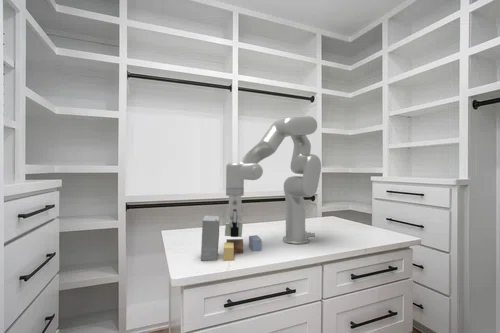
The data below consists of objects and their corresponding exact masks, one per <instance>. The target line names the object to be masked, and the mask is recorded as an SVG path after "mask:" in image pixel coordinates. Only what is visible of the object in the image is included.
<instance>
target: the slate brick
mask: <svg viewBox="0 0 500 333" xmlns="http://www.w3.org/2000/svg"><path fill="white" fill-rule="evenodd" d="M262 241H263V240H262V238H260V236H258V235H257V234H256V235H248V247H249V249H250V250H251V251H252V252H261V251H262V250H263V249H262V246H263V245H262Z"/></svg>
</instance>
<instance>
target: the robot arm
mask: <svg viewBox="0 0 500 333" xmlns="http://www.w3.org/2000/svg"><path fill="white" fill-rule="evenodd" d="M317 128H318V122H317V119H315V117H313V116H310V115H306V116H303V115H302V116H289V117H284V118H281V119H280V118H279V119H277V120H275V121H274V122H273V123H272V124H271V125H270V126H269V129H267V130H266V132H265V134H264V135H263V136H262V138H261V139H260V141H258V143H256V144H255V145H254V146H253V147H252V148H251V149H250V150H249V151H248V152H247V153H246V154H245V155H244V156H243V157H242V159H241V160H239V161H240V162H229V163H227V164H226V166H225V167H226V169H225V196H226V197H228V213H229V214H228V216H229V220H230V221H231V236H230V237H231V238H239V237H238V230H239V227H238V223H239V221H241V220H242V207H243V206H242V204H243V203H242V197H243V196H245V195H244V194H245V193H244V191H245V190H244V189H245V188H244V187H245V186H244V184H245V181H246V180H247V181H257V180H259V179H260V178H261V177H262V176H263V174H264V170H263V167H262V166H261V165H260V164H259V163H260V162H261V161H263V160H265V159H266V158H268V157H270V156H272V155H273V154H275V153H276V151H277V150H278V148H279V147H280V145H281V144H282V142H283V141H284V139H285V138H287V137H290V138H291V140H292V142H293V150H292V151H293V152H292V157H291V160H290V161H291V162H290V170H291V172H292V173H294V174H298V175H292V176H288V177H287V178H286V179H285V180H284V182H283V192H284V197H285V235H284V236H283V237H282V241H283V242H284V243H287V244H291V245H303V244H304V245H305V244H307V243H309V241H310V240H309V238H316V233H315V232H307V230H306V202H305V198H311V197H313V196H315V195H316V193H317V191H318V187H319V182H320V178H321V171H322V164H321V163H322V162H321V159H320V158H319V157H318V155H316V154H312V153H311V150H312V145H311V144H312V143H311V141H310V140H309V138H308V136H309V135H312V134H314V133H315V132H316V131H317ZM299 175H300V176H299ZM301 175H302V176H301Z"/></svg>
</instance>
